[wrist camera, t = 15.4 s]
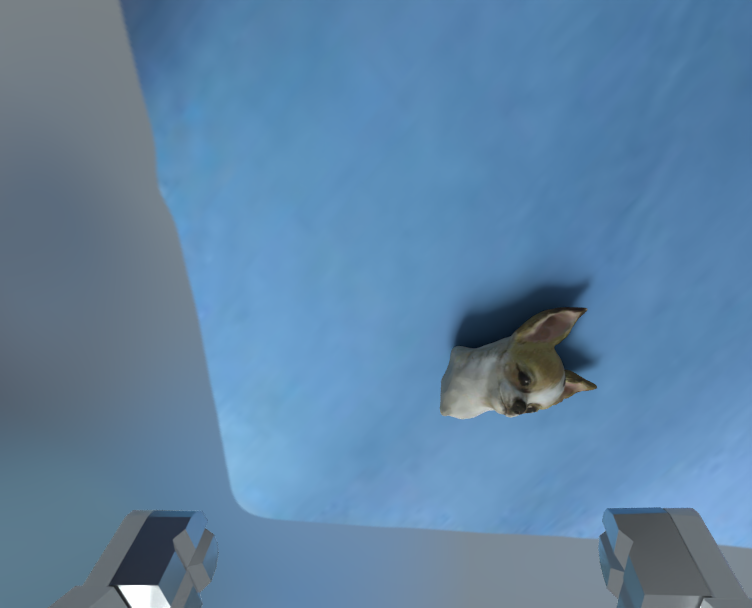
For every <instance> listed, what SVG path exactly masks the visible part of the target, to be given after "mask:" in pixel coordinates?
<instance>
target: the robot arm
mask: <svg viewBox="0 0 752 608" xmlns="http://www.w3.org/2000/svg"><path fill="white" fill-rule="evenodd" d="M602 522H603V524H604V527H605V530H606V531H605V532H604V533H603V534H601V535H600V537H599V545H598V551H599V562H600V566H601V570H602V574H603V578H604V581H605V584H606V587H607V589H608V590H609V591H610V592H611V593H612V594H613V595H614V596H615V597H617V599H618V603H617V608H752V599H751V598H748V596H747V594H746V593H745V592H744V590H743V588H742V586H741V584H740V583H739V581H738V579H737V578H736V576H735V574H734V573H733V571H732V569H731V567H730V566H729V564H728V562H727V561H726V559H725V557H724V555H723V554H722V552H721V550H720V549H719V547H718V545H717V543H716V542H715V540H714V538H713V537H712V535H711V533H710V532H709V530H708V528H707V526H706V525H705V523H704V521H703V520H702V518H701V516H700V515H699V513H698V512H697V511H695V510H694V509H693V508H663V509H662V508H660V507H659V508H608V509H606V510H605V511H604V514H603V519H602ZM207 523H208V520H207V518H206V516H205V514H204V512H203V511H170V510H168V511H167V510H133V511H132V512H131V513H129V514H128V515H127V516H126V517H125V518H124V520H123V521H122V523H121V525H120V527H119V528H118V529H117V531H116V533H115V534H114V536H113V538H112V539H111V541H110V543H109V544H108V546H107V547H106V549H105V550H104V552H103V554H102V555H101V557H100V558H99V560H98V562H97V563H96V565H95V566H94V568H93V570H92V571H91V573H90V575H89V576H88V578H87V579H86V581H85V582H84V584H83V586H75V587H74V588H72V589H71V590H70V591H69V592H67V593H66V594H65V595H64V596H62V597H61V598H60V599H59V600H57V601H56V602H55V603H53V604H52V605H51V606H50V607H48V608H201V606H202V600H201V596H200V592H201V591H202V590H203V589H204V588H205V587H206V586H207V585H208V584H209V583H210V582H211V580H212V578H213V575H214V572H215V570H216V565H217V559H218V545H217V541H216V538H215V535H214V534H213V533H211V532H210V531H208V530H207V529H206V528H205V527H206V525H207Z"/></svg>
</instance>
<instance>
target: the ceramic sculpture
mask: <svg viewBox="0 0 752 608" xmlns="http://www.w3.org/2000/svg"><path fill="white" fill-rule="evenodd" d="M586 311H587V308H578V307H560V308H555V309H549V310H545V311H542V312H540V313H538V314H536V315H534V316H532V317H531V318H530V319H528V320H527V321H526V322H525V323H524V324H523V325H522V326H520V327H519V328H518V329H517V330H516V331H515V332H514V333H513V334H512V335H511V336H510V337H507V338H503V339H501V340H499V341H496V342H494V343H490V344H487V345H484V346H482V347H479V348H474V349H473V348H468V347H463V346H455V347H454V348H453V349H452V351H451V356H450V361H449V365H448V368H447V370H446V372H445V374H444V376H443V378H442V380H441V403H440V412H441V414H442V415H443V416H448V415H449V416H452V417H456V418H459V419H466V418H468V419H469V418H473V417H476V416H478V415H480V414H482V413H484V412H486V411H490V410H495V411H496V412H498V413H499V414H504V415H506V416H507V417H515V416H518V415H520V414H523V413H533V412H537V411H538V410H539V409H547V408H549V407H551V406H552V405H556V404H558V403H559V402H562V401H563V399H566V398H568V397H570V396H572V395H574V394H575V393H577V392H580V391H589V390H593V389H596V388H597V386H596V385H595V384H593V383H592V382H590V381H588V380H585V379H584V378H582V377H581V376H579V375H577V374H576V373H574V372H572V371H570V370H564V367H563V364H562V361H561V359H560V357H559V356H558V354H557V353H556V351H555V349H554V346H555V345H557V344H559V343H560V342H561V341H562V340H564V339H565V338H566V337H567V336H568V334H569V333H570V331H571V329H572V327H573V326H574V324H575V323H576V321H577V320H578V319H579V317H581V316H582V315H583V314H584V313H585V312H586Z"/></svg>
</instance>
